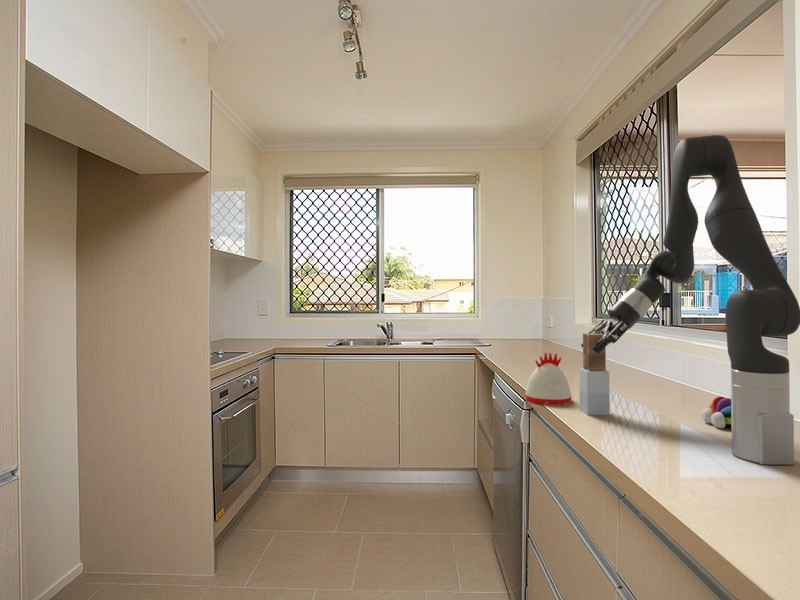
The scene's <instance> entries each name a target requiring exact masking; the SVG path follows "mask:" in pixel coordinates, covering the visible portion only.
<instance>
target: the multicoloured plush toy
mask: <svg viewBox="0 0 800 600" xmlns="http://www.w3.org/2000/svg"><path fill="white" fill-rule="evenodd" d="M700 414H701V419H702V420H703V422H705V423H706V424H709V425H713V427H715V428H717V429H721V430H722V429H724V428H725V427H726V425H731V397H730V398H729V397H726V396H725V397H724V396H717V397H715V398H714V399H713V400H712V402H711V403H710V404H709V407H707V408H705V409H703V410H702V412H701V413H700Z"/></svg>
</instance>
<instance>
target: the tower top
mask: <svg viewBox="0 0 800 600" xmlns="http://www.w3.org/2000/svg"><path fill="white" fill-rule="evenodd" d="M578 372H579V391H580V390H582V391H584V392H586V393H610V371H608V370H606V371H588V370H585V369H583V367H581V368H579V371H578Z"/></svg>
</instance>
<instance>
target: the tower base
mask: <svg viewBox="0 0 800 600" xmlns="http://www.w3.org/2000/svg"><path fill="white" fill-rule="evenodd" d="M610 395H611V393H610V392H609V393H586V392H584V391H582V390H580V389H579V411H580V410H581V411H580V412H582V413H583V412H584V414H585V415H587V416H610V415H611V414H610V413H611V412H610V411H611V410H610V403H611V402H610V398H611V397H610Z"/></svg>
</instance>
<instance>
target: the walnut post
mask: <svg viewBox="0 0 800 600" xmlns="http://www.w3.org/2000/svg"><path fill="white" fill-rule="evenodd" d="M602 337H603V334H597V333H596V334H588V333H582V343H583V347H582V356H583V357H582V365H583V366H582V368H583V369H585V370H588V371H606V369H607V368H606V367H607V366H606V364H607V363H606V359H607V358H606V347H605V348H604V349H603V350H602V351H601V352H600V353H596V352H595V351H594V350H593V349H592V347H593V346H594V345H595V344H596V343H597V342H598V341H599V340H600V339H603V338H602Z"/></svg>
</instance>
